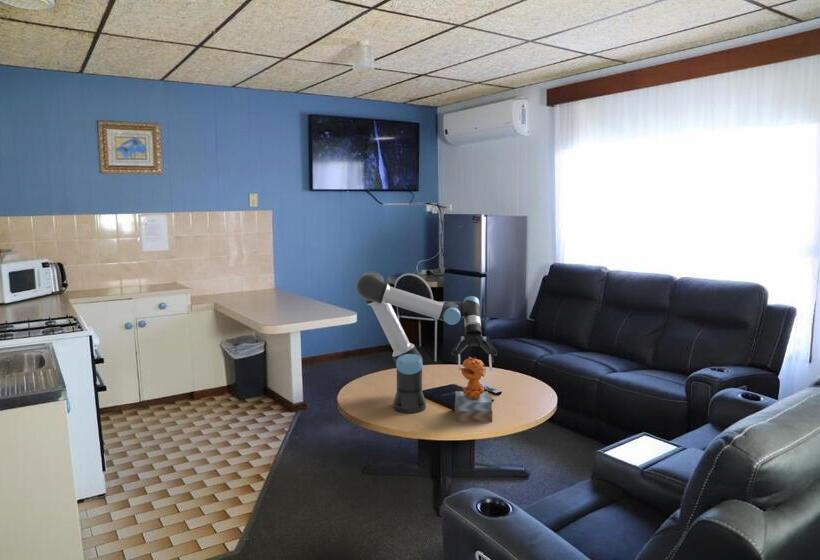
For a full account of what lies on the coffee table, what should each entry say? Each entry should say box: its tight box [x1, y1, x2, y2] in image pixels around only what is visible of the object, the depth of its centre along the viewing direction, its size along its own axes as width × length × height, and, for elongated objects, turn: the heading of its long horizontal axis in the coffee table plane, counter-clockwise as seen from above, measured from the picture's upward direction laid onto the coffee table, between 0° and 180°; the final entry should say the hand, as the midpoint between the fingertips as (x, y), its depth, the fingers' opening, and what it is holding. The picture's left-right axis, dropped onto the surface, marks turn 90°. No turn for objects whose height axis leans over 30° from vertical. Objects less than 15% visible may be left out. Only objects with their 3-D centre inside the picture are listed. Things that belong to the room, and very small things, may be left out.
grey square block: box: [454, 390, 493, 423], centre depth 259 cm, size 15×15×8 cm
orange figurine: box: [459, 356, 486, 399], centre depth 257 cm, size 11×11×18 cm
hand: (475, 368), depth 258 cm, fingers open, 13 cm apart
